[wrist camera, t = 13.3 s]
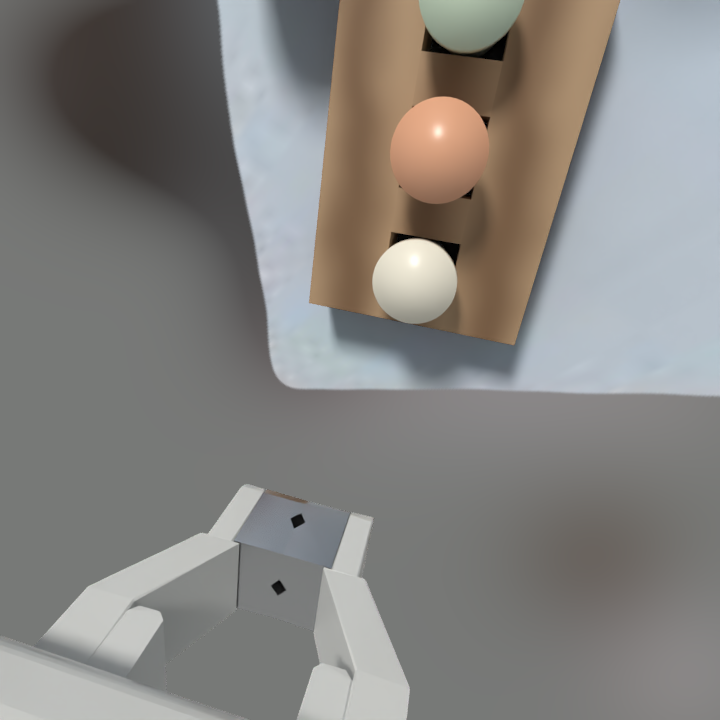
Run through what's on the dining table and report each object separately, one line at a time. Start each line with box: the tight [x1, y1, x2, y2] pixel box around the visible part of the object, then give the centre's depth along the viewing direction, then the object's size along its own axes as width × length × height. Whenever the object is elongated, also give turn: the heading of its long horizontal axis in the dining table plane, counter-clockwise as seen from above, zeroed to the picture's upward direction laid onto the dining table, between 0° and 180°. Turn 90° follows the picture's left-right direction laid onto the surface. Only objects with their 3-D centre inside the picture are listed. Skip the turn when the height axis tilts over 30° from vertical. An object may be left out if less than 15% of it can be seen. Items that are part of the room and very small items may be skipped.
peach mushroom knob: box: [390, 97, 489, 204], centre depth 30 cm, size 6×6×8 cm
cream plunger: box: [372, 237, 457, 324], centre depth 34 cm, size 6×6×8 cm
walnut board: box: [309, 0, 620, 345], centre depth 33 cm, size 16×24×5 cm, turn 172°
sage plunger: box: [419, 0, 524, 58], centre depth 27 cm, size 6×6×8 cm
